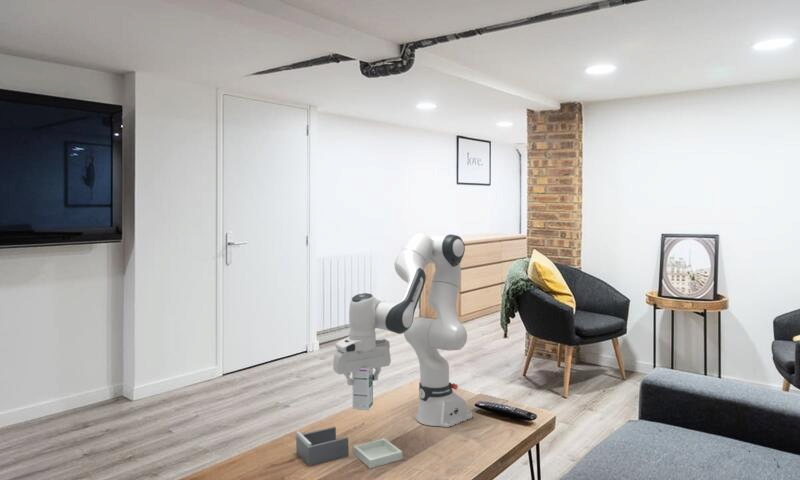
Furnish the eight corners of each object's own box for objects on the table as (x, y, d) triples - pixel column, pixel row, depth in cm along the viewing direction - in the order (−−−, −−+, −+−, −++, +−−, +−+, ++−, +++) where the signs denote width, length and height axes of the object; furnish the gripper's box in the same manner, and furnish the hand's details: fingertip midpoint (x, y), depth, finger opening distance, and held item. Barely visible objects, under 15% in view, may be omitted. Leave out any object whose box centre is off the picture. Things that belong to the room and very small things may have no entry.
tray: (384, 445, 191) (384, 438, 191) (402, 459, 181) (402, 451, 180) (353, 453, 185) (353, 446, 185) (370, 468, 174) (370, 460, 174)
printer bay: (334, 443, 193) (334, 423, 192) (348, 455, 183) (348, 434, 183) (296, 452, 185) (296, 431, 185) (308, 466, 176) (308, 444, 176)
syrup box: (368, 410, 184) (369, 368, 183) (351, 409, 185) (352, 366, 184) (373, 404, 190) (373, 363, 189) (356, 403, 191) (356, 362, 190)
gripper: (385, 336, 194) (385, 374, 195) (331, 344, 184) (331, 384, 185) (393, 340, 188) (394, 379, 189) (338, 348, 178) (339, 390, 179)
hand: (362, 382), depth 187 cm, fingers closed on syrup box, 8 cm apart
